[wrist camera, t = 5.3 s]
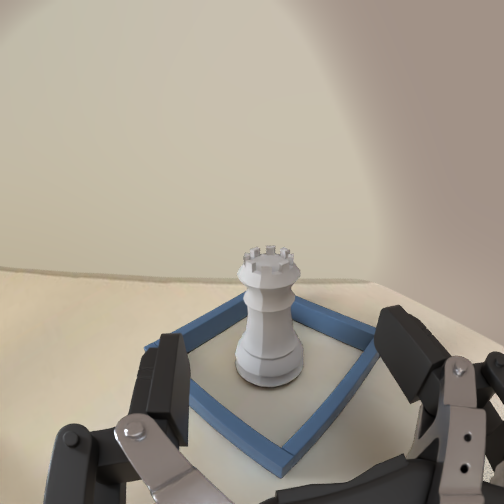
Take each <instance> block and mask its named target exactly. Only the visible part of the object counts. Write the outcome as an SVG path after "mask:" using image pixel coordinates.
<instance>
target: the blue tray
mask: <svg viewBox="0 0 504 504" xmlns="http://www.w3.org/2000/svg"><path fill="white" fill-rule="evenodd" d="M245 292H246V291H245ZM245 292H244V293H242V294H240V295H238V296H237V297H235V298H233V299H231V300H230V301H228V302H226V303H224V304H222V305H221V306H219V307H217V308H215V309H214V310H212V311H210V312H208V313H206V314H205V315H203V316H201V317H199V318H197V319H196V320H194V321H192V322H190V323H188V324H187V325H185V326H183V327H181V328H179V329H177V330H176V331H174V332H172V333H181V334H182V336H183V340H184V344H185V348H186V351H187V353H188V352H190V351H191V350H193V349H195V348H196V347H198V346H200V345H201V344H203V343H205V342H206V341H208V340H210V339H211V338H213V337H214V336H216V335H218V334H219V333H221V332H222V331H224V330H226V329H227V328H229V327H230V326H232V325H234V324H235V323H237V322H238V321H240V320H241V319H243V318H245V317H246V316H248V308H247V305H246V304H245V302H244V299H243V297H244V294H245ZM291 317H292V319H293V320H295V321H297V322H299V323H302V324H304V325H306V326H308V327H310V328H312V329H315V330H317V331H319V332H321V333H324V334H326V335H328V336H330V337H333V338H335V339H337V340H339V341H342V342H344V343H346V344H348V345H351V346H353V347H355V348H358V349H360V350H362V351H364V352H363V353H362V355H361V356H360V357H359V359H358V360H357V361H356V363H355V364H354V365H353V367H352V368H351V369H350V371H349V372H348V373H347V375H346V376H345V377H344V378H343V380H342V381H341V382H340V384H339V385H338V386H337V387H336V388H335V390H334V391H333V392H332V393H331V394H330V396H329V397H328V398H327V399H326V400H325V402H324V403H323V404H322V405H321V406H320V407H319V408H318V410H317V411H316V412H315V413H314V414H313V415H312V416H311V417H310V418H309V420H308V421H307V422H306V423H305V424H304V425H303V426H302V427H301V428H300V429H299V430H298V431H297V432H296V433H295V434H294V435H293V436H292V437H291V438H290V439H289V440H288V441H287V442H286V443H285V444H284V445H283V446H282V448H280V447H279V446H277V445H276V444H274V443H273V442H271V441H270V440H268V439H267V438H265V437H264V436H262V435H261V434H260V433H258V432H257V431H255V430H254V429H253V428H251V427H250V426H249V425H247V424H246V423H245V422H243V421H242V420H241V419H239V418H238V417H237V416H235V415H234V414H233V413H231V412H230V411H229V410H228V409H226V408H225V407H224V406H223V405H221V404H220V403H219V402H218V401H216V400H215V399H214V398H213V397H212V396H210V395H209V394H208V393H207V392H206V391H205V390H203V389H202V388H201V387H200V386H199V385H198V384H197V383H195V382H194V381H193V380H192V379H191V378H190V395H189V406H190V407H191V408H192V409H194V410H195V411H196V412H197V413H198V414H199V415H200V416H201V417H202V418H203V419H204V420H205V421H207V422H208V423H209V424H210V425H211V426H212V427H213V428H215V429H216V430H217V431H218V432H219V433H220V434H222V435H223V436H224V437H225V438H226V439H228V440H229V441H230V442H231V443H233V444H234V445H235V446H236V447H238V448H239V449H240V450H241V451H243V452H244V453H245V454H247V455H248V456H249V457H251V458H252V459H253V460H255V461H256V462H257V463H259V464H260V465H262V466H263V467H264V468H266V469H267V470H269V471H270V472H272V473H273V474H275V475H276V476H278V477H279V478H282V477H283V476H284V475H285V474H286V473H287V472H288V471H289V470H290V469H291V467H293V466H294V465H295V464H296V463H297V462H298V461H299V460H300V459H301V458H302V457H303V456H304V455H305V454H306V453H307V452H308V450H309V449H310V448H311V447H312V446H313V445H314V444H315V443H316V442H317V440H318V439H319V438H320V437H321V436H322V435H323V433H324V432H325V431H326V430H327V429H328V427H329V426H330V425H331V424H332V423H333V421H334V420H335V419H336V418H337V416H338V415H339V414H340V412H341V411H342V410H343V409H344V407H345V406H346V405H347V403H348V402H349V401H350V399H351V398H352V397H353V395H354V394H355V392H356V391H357V390H358V388H359V387H360V385H361V384H362V382H363V381H364V380H365V378H366V377H367V375H368V374H369V372H370V371H371V369H372V367H373V366H374V364H375V363H376V361H377V360H378V358H379V357H380V355H379V353H378V352H377V350H376V348H375V346H374V334H375V331H376V328H375V327H372V326H370V325H367V324H365V323H362V322H360V321H357V320H355V319H352V318H349V317H347V316H344V315H342V314H339V313H337V312H334V311H332V310H329V309H327V308H325V307H322V306H320V305H317V304H315V303H312V302H310V301H307V300H305V299H302V298H300V297H298V296H295V301H294V302H293V304H292V305H291ZM159 341H160V339H159V340H157V341H155V342H154V343H151V344H149V345H147V346H145V347H144V350H145V352H146V351H147V350H148V349H149V347H158V346H159Z"/></svg>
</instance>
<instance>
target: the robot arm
mask: <svg viewBox="0 0 504 504" xmlns="http://www.w3.org/2000/svg"><path fill="white" fill-rule="evenodd" d="M374 346H375V348H376V350H377V352H378V353H379V355H380V357H381V358H382V360H383V361H384V363H385V364H386V366H387V367H388V369H389V371H390V372H391V374H392V375H393V377H394V378H395V380H396V382H397V383H398V385H399V386H400V388H401V390H402V391H403V393H404V395H405V396H406V398H407V399H408V401H409V403H410V404H411V403H414V402H416V401H418V400H421V402H422V404H421V405H420V408H419V414H418V419H417V425H416V430H415V435H414V440H413V444H412V446H411V449H410V450H409V452H408V454H407V456H406V458H405V456H404V454H401V455H399V456H396V457H394V458H392V459H389V460H387V461H384V462H382V463H379V464H376V465H375V466H373V467H372V468H370V469H369V470H367V471H366V472H364V473H362V474H361V475H359V476H358V477H356V478H354V479H353V480H351V481H349V482H345V483H332V484H309V485H305V486H300V487H295V488H290V489H284V490H277V491H276V493H275V497H272V498H270V499H267V500H265V501H263V502H261V503H259V504H504V421H502V419H501V418H500V416H499V414H498V413H497V411H496V410H495V408H494V407H493V405H492V404H491V402H490V401H489V400H490V399H491V398H492V396H493V395H494V394H495V393H496V394H497V395H498V397H499V398H500V400H501V401H502V403H503V404H504V354H502V353H500V352H491V353H489V354H488V356H487V358H486V360H485V361H484V362H482V363H475V364H472V363H471V362H470V361H469V360H468V359H466V358H464V357H462V356H451V355H450V354H449V353H448V352H447V350H446V349H445V348H444V347H443V346H442V345H441V343H440V342H439V341H438V340H437V339H436V338H435V337H434V335H432V333H431V332H430V331H429V330H428V329H426V326H425V325H424V324H423V323H422V322H421V321H420V320H419V319H417V318H416V317H414V316H412V315H411V314H408V313H407V312H406V311H405V310H404V309H403V308H402V307H401V306H400V305H395V306H391V307H386V308H383V309H382V310H381V312H380V316H379V320H378V323H377V327H376V331H375V334H374ZM190 376H191V373H190V363H189V359H188V355H187V351H186V348H185V344H184V340H183V336H182V334H181V333H167V334H161V337H160V341H159V346H158V347H149V349H148V350H147V351H146V352H145V354H144V355H143V356H142V358H141V362H140V366H139V370H138V374H137V379H136V382H135V387H134V391H133V395H132V400H131V405H130V409H129V413H128V415H127V416H125V417H123V418H122V419H121V420H120V421H119V422H118V423H117V425H116V427H113V428H110V429H104V430H98V431H92V432H89V430H88V429H87V428H86V427H84V426H83V425H80V424H68V425H66V426H64V427H63V428H61V429H60V431H59V432H58V434H57V436H56V439H55V443H54V447H53V451H52V456H51V460H50V465H49V470H48V476H47V481H46V487H45V494H44V501H43V504H126V482H130V481H136V480H143V481H144V483H145V484H146V485H147V487H148V488H149V490H150V494H151V496H152V497H153V499H154V500H155V501H156V503H157V504H234V503H233V502H232V501H231V500H229V499H228V498H227V497H226V496H225V495H224V494H223V493H222V492H221V491H220V490H219V489H217V488H216V487H215V486H214V485H213V484H212V483H211V482H210V481H209V480H208V479H207V478H206V477H205V476H204V475H203V474H202V473H201V472H200V471H199V470H198V469H197V468H195V467H194V466H192V465H191V464H190V462H189V461H188V460H187V459H186V458H185V457H184V456H183V455H182V454H181V452H180V451H179V446H188V419H189V395H190ZM485 455H486V457H487V459H488V461H489V463H490V465H491V467H492V469H493V471H494V476H493V477H492V478H491V479H490V483H488V482H485V481H482V480H483V472H484V462H485Z"/></svg>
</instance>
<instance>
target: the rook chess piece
mask: <svg viewBox="0 0 504 504" xmlns="http://www.w3.org/2000/svg"><path fill="white" fill-rule="evenodd" d="M293 259H294V255H293V254H290V250H289V249H287V248H284V247H283V248H281V249H280V254H276V253H275V246H266V253H265V254H260V248H258V247H255V248H253V249H250V253H245V254H244V263H243V265H242V266H241V267H240V269H239V271H238V273H237V275H238V278H239V280H240V281H241V282H242V283H243V284H244V285H245V286H246V287H247V291H246V292H245V294H244V297H243V299H244V302H245V304H246V305H247V308H248V317H247V326H246V330H245V332H244V333H243V334H242V338H241V339H240V340H239V341H238V345H237V348H236V352H235V355H236V361H235V365H236V368H237V371H238V373H239V374H240V375H241V376H242V377H243V378H244V379H245V380H246V381H248V382H251V383H253V384H256V385H258V386H261V387H276V386H280V385H284V384H286V383H288V382H290V381H291V380H293V379H294V378H296V377H297V376H298V375H299V373H300V372H301V370H302V368H303V345H302V343H301V341H300V339H299V338H298V336H297V334H296V332H295V331H294V329H293V325H292V317H291V305H292V304H293V302H294V301H295V294H294V293H293V291H292V290H291V286H292V285H293V284H294V283H295V282H296V281H297V280H298V278H299V277H300V269H299V268H298V267H297V266H296V264H295V263H294V262H293Z"/></svg>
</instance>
